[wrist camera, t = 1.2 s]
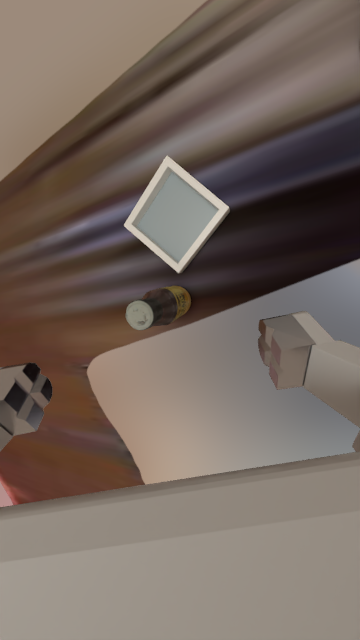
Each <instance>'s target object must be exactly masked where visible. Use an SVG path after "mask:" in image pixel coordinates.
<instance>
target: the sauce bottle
mask: <svg viewBox="0 0 360 640" xmlns="http://www.w3.org/2000/svg"><path fill="white" fill-rule="evenodd" d="M190 305H191V297H190V294H189V293H188V292H187V290H185V289H184V288H182V287H180V286H171V287H165V288H159V289H156V290H152V291H149V292H147V293H146V294H145V295H144V296H143V298H142V299H139V300H136V301H133V302H131V303H130V304H129V306H128V307H127V309H126V319H127V321H128V323H129V324H130V326H131V327H133V328H134V329H137V330H145V329H148V328H150V327H152V326H160V325H168V324H170V323H172V322H173V321H175V320H176V319H177V318H179V317H180V316H182V315H184V314H185V313H186V312H187V311H188V309H189V307H190Z"/></svg>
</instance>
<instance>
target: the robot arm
mask: <svg viewBox="0 0 360 640" xmlns="http://www.w3.org/2000/svg"><path fill="white" fill-rule="evenodd" d="M259 331H260V333H261V336H260V337H259V339H258V346H259V352H260V356H261V358H262V361H263V363H264V364H265V365H266V366H268V367H270V369H269V375H270V377H271V379H272V381H273V383H274V385H275V387H276V388H277V390H280V389H287V388H294V387H301V386H304V388H305V389H307V390H308V391H309V392H311V393H312V394H313V395H315V396H316V397H318V398H319V399H321V400H322V401H323V402H325V403H326V404H327V405H329V406H330V407H331V408H333V409H334V410H336V411H337V412H339V413H340V414H341V415H343V416H344V417H345V418H347V419H348V420H350V421H351V422H352V423H354V424H355V425H357V426H358V427H359V428H360V348H359V347H356V346H353V345H351V344H348V343H346V342H343V341H335V340H334V339H333V338H332V337H331V336H330V335H329V334H328V333H327V332H326V331H325V330H324V329H323V328H322V327H321V326H320V325H319V323H317V322H316V320H315V319H314V318H313V317H312V316H311V315H310V314H309V313H308V312H306V311H301V312H297V313H291V314H289V315H283V316H278V317H273V318H268V319H262V320H260V321H259ZM40 371H41V369H40V368H39V367H38V366H37V364H36V363H24V364H18V365H12V366H6V367H1V368H0V451H1V450H2V449H3V448H4V446H5V445H6V444H7V443H8V442H9V441H10V440H11V439H12V438H13V436H14V435H19V434H24V433H29V432H34V431H37V428H38V426H39V424H40V422H41V420H42V417H43V415H44V411H43V408H44V407H45V406H46V405H47V404H48V403H49V402H50V399H51V397H52V385H51V382H50V380H49V379H48V378H47V377H45V376H43V375H41V374H40ZM353 448H354V449H355V451H356V452H353V453H347V454H340V455H334V456H327V457H321V458H315V459H308V460H302V461H296V462H289V463H282V464H276V465H270V466H263V467H257V468H250V469H244V470H237V471H231V472H225V473H218V474H212V475H206V476H199V477H193V478H186V479H180V480H173V481H167V482H161V483H154V484H147V485H141V486H134V487H128V488H122V489H115V490H109V491H102V492H96V493H89V494H83V495H77V496H70V497H64V498H57V499H51V500H44V501H38V502H32V503H25V504H19V505H12V506H6V507H0V640H360V431H359V433H358V435H357V437H356V439H355V441H354V443H353Z"/></svg>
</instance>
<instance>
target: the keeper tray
mask: <svg viewBox="0 0 360 640" xmlns="http://www.w3.org/2000/svg"><path fill="white" fill-rule="evenodd" d="M229 212H230V208H229V207H228V206H227V205H226V204H224V203H223V202H222V201H221V200H220V199H218V198H217V197H216V196H215V195H214V194H212V193H211V192H210V191H209V190H208V189H206V188H205V187H204V186H203V185H202V184H200V183H199V182H198V181H197V180H196V179H194V178H193V177H192V176H191V175H190V174H188V173H187V172H186V171H185V170H184V169H182V168H181V167H180V166H179V165H178V164H176V163H175V162H174V161H173V160H172V159H170V158H169V157H168V156H166V158H165V159H164V161H163V163H162V164H161V166H160V167H159V169H158V171H157V172H156V174H155V175H154V177H153V179H152V180H151V182H150V184H149V185H148V187H147V188H146V190H145V192H144V193H143V195H142V196H141V198H140V200H139V201H138V203H137V205H136V206H135V208H134V209H133V211H132V213H131V214H130V216H129V218H128V219H127V221H126V222H125V224H124V226H125V227H126V228H127V229H128V230H129V231H130V232H132V233H133V234H134V235H135V236H136V237H137V238H138V239H140V240H141V241H142V242H143V243H144V244H145V245H147V246H148V247H149V248H150V249H151V250H152V251H153V252H155V253H156V254H157V255H158V256H159V257H160V258H162V259H163V260H164V261H165V262H166V263H167V264H168V265H170V266H171V267H172V268H173V269H174V270H175V271H177V272H178V273H183V271H184V270H185V269H186V267H187V266H188V265H189V264H190V262H191V261H192V260H193V258H194V257H195V256H196V255H197V253H198V252H199V251H200V249H201V248H202V247H203V246H204V244H205V243H206V242H207V240H208V239H209V238H210V237H211V235H212V234H213V233H214V232H215V230H216V229H217V228H218V226H219V225H220V224H221V223H222V221H223V220H224V219H225V217H226V216H227V215H228V214H229Z"/></svg>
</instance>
